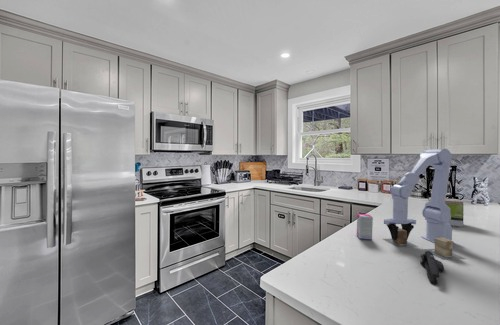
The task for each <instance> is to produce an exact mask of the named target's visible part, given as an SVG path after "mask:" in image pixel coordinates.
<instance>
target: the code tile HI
mask: <svg viewBox="0 0 500 325" xmlns="http://www.w3.org/2000/svg"><path fill="white" fill-rule="evenodd" d="M422 251H424V252H426V251H430V252H431V253H432V254H433V256H435V257H436V258H438V259H440V260H442V261H445V260H446V261H448V260H449V261H450V260H451V261H453V260H466V257H463V256H462V255H458V254H457V253H454V252H452V256H442V255H440V254H437V253H435V248H425V249H423V248H422Z"/></svg>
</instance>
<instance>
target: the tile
mask: <svg viewBox="0 0 500 325" xmlns="http://www.w3.org/2000/svg"><path fill="white" fill-rule="evenodd" d="M382 240H383V241H385V242H387V243H389V244H391V245H393V246H394V247H396V248H415V247H418V245H416V244H414V243H412V242H410V241H408V240H407V244H397V243H395V242H393V241H392V238H382Z"/></svg>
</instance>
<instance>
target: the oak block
mask: <svg viewBox="0 0 500 325" xmlns="http://www.w3.org/2000/svg"><path fill="white" fill-rule="evenodd" d="M453 243H454V240H452V241H451V240H448V239H445V238H435V243H434V249H435V253H437V254H440V255H442V256H452V253H453V245H454V244H453Z"/></svg>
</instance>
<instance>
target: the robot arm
mask: <svg viewBox="0 0 500 325" xmlns="http://www.w3.org/2000/svg"><path fill="white" fill-rule="evenodd" d="M452 158H453V154H452V152H450V150H449V149H448V148H434V149H433V148H430V149H429V148H426V149H424V150H423V151H422V152H421V153H420V154H419V160H418V161H417V162H416V164H415V166H414V167H413V168H412V170H411V171H408V172H406V173H404V174H403V177H402V178H401V179H400V180H399V181H398V182H397V183H396V184H394V185H392V186H391V188H390V189H389V192H390V195H391V199H392V218H389V219H388V218H386V219H383V224H385V225H386V227H387V228H388V231H389V233H390V236H391V239H393V240H396V239H397V231H398V228H400V227H401V229H403V230H406V231H407V240H408V239H409V236H410V234H411V231H412V230H413V229H414V227H415V226H414V225H417V219H414V218H408V215H409V214H408V212H409V211H408V207H409V206H408V205H409V204H408V203H409V198H410V197H411V196H412V194H413V188H414V187H415V186H416V184H417V183H418V182H419V181H420V175H421V174H423V173H424V171H425V170H426V169H427V168H428V167H429V166H431V167H432V168H434V173H433V181H432V188H431V193H430V198H431V200H430V201H429V200H428V201H427V202H425V204H424V207H423V209H422V213H421V214H422V217H424V219H425V221H426V222H425V223H426V227H425V229H426V230H425V235H421V238H423V239H424V240H428V241H430V242H432V243H434V244H435V238H445V239H448V240H451V241H453V226H452V225H450V224H449V223H448V222H449V221H450V220H451V213H450V207H448V206H447V205H446V204H445V199H447V190H448V185H449V184H448V183H449V177H450V170H451V164H452ZM434 207H437V208H434ZM438 208H439V209H438ZM398 225H400V227H399V226H398Z"/></svg>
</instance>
